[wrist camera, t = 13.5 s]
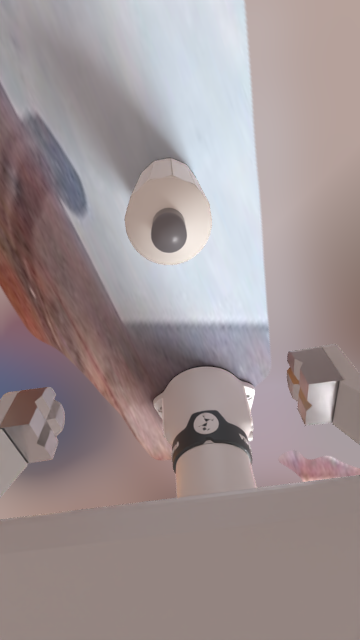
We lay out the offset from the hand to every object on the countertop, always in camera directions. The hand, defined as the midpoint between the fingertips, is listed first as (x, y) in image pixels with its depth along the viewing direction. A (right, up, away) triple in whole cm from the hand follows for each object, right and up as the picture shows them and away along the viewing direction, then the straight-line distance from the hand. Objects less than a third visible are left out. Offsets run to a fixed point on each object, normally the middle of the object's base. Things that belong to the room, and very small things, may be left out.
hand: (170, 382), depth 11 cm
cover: (-1, +18, +28) cm, 33 cm away
